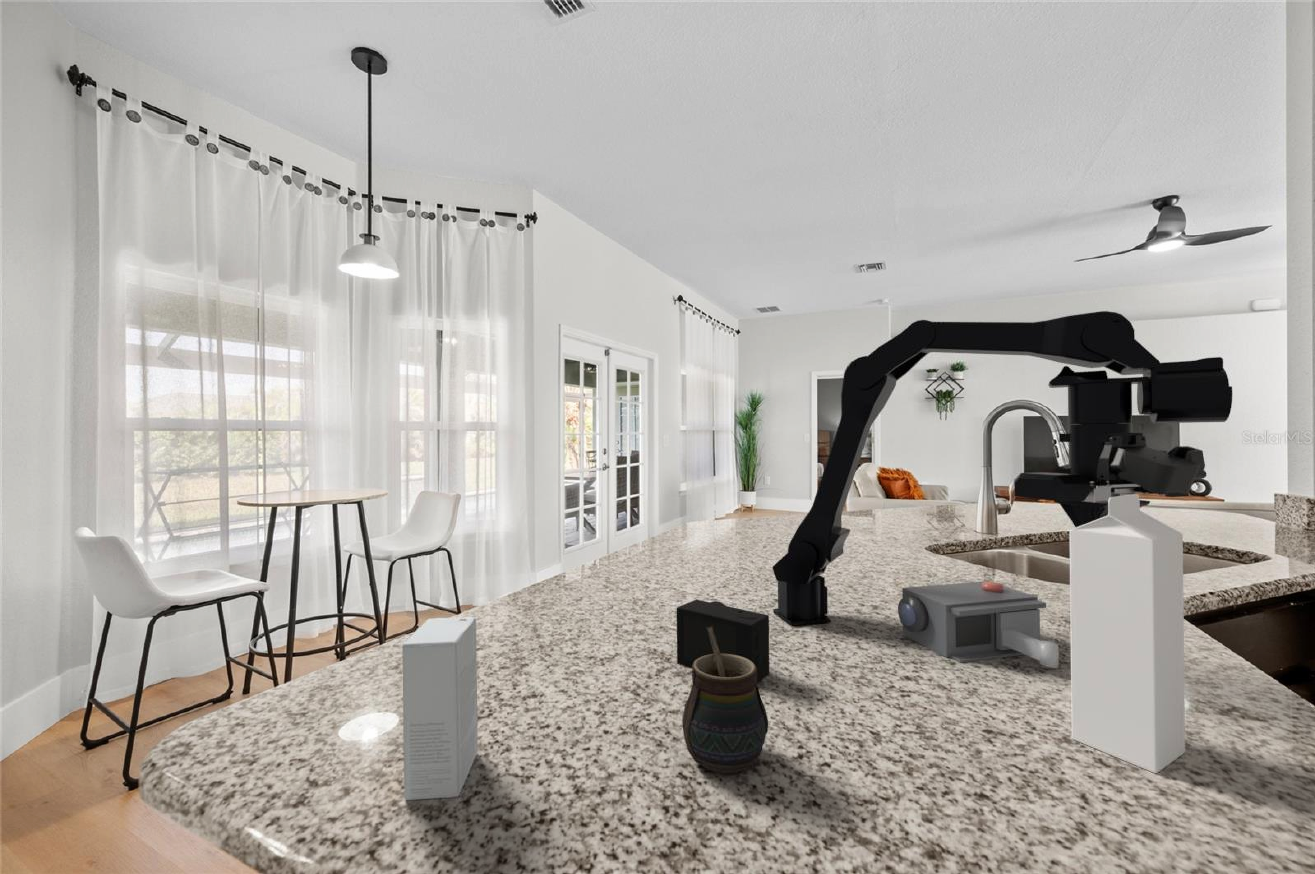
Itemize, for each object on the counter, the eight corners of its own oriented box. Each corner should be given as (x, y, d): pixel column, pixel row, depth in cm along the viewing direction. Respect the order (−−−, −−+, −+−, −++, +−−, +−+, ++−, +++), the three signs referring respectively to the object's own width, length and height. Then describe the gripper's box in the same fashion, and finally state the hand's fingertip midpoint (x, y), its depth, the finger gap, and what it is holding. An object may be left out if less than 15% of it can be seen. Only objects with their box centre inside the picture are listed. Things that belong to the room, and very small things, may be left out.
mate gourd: (707, 795, 41) (706, 664, 41) (666, 744, 48) (665, 632, 48) (785, 772, 44) (783, 649, 44) (735, 727, 51) (735, 621, 51)
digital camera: (775, 671, 63) (775, 611, 63) (752, 688, 59) (752, 624, 59) (701, 650, 70) (701, 596, 70) (676, 664, 66) (676, 606, 66)
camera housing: (945, 664, 65) (944, 603, 65) (892, 636, 74) (892, 582, 74) (1049, 651, 68) (1049, 594, 68) (987, 626, 78) (986, 575, 78)
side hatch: (1049, 671, 61) (1048, 631, 61) (996, 648, 68) (995, 611, 68) (1091, 666, 62) (1090, 626, 62) (1035, 643, 69) (1034, 607, 69)
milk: (1185, 754, 46) (1185, 497, 46) (1156, 775, 43) (1156, 501, 43) (1100, 721, 52) (1100, 491, 52) (1068, 738, 49) (1068, 494, 49)
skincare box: (428, 756, 47) (427, 617, 47) (478, 753, 47) (478, 615, 47) (400, 803, 41) (400, 643, 41) (459, 799, 41) (458, 641, 41)
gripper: (1109, 422, 52) (1111, 583, 52) (1248, 422, 57) (1250, 571, 56) (1009, 425, 63) (1011, 559, 63) (1132, 425, 67) (1134, 550, 67)
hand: (1100, 559), depth 62 cm, fingers closed
